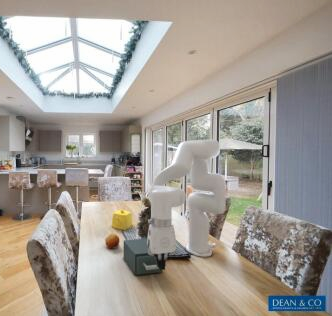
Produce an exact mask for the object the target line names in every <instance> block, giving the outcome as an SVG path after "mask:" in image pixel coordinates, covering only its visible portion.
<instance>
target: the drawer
mask: <svg viewBox="0 0 332 316" xmlns="http://www.w3.org/2000/svg"><path fill="white" fill-rule="evenodd" d="M156 272H158V273H162V272H163V270H160V269H159V268H158V267H157V264H156V257H155V256H154V255H153V256H152V255H145V256H137V266H136V273H137V275H136V276H139V275H138V274H141V275H148V274H147V273H150V274H156Z"/></svg>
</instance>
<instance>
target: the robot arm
mask: <svg viewBox="0 0 332 316" xmlns="http://www.w3.org/2000/svg"><path fill="white" fill-rule="evenodd" d="M220 153H221V144H220V142H219V141H218V140H217V139H192V140H191V139H190V140H185V141H181V142H180V143H179V144H178V146H177V147H176V150H175V153H174V155H173V158H172V161H171V163H170V165H168V166H166V167H165V168H164V169H162V170H161V171H160V172H158V173H157V175H156V176H155V177H154V179H153V180H152V182H151V185H150V188H149V193H148V195H149V199H150V219H147V222H148V224H149V226H148V230H147V238H146V239H147V247H148V254H149V255H152V256H153V255H154V256H155V257H156V264H157V267H158V268H159V269H160V270H162V271H165V270H166V265H167V264H166V262H167V261H166V260H167V259H168V257H169V256H170V254H173V253H175V252H176V250H177V238H176V237H177V236H176V230H175V227H174V224H172V212H173V211H172V210H173V208H175V207H176V208H177V207H180V206H182V205H184V204H185V202H186V199H187V206H188V244H187V245H185V250H186V252H188V253H189V254H191V255H193V256H196V257H201V258H203V257H204V258H207V257H211V256H212V255H213V251H212V249H216V248H217V247H218V246H217V243H211V242H210V218H209V216H208V215H207V213H210V214H216V215H221V214H224V213H225V211H226V205H227V204H226V203H227V201H226V200H227V199H226V197H227V194H226V193H227V192H226V191H227V190H226V188H227V187H226V178H225V176H224V175H222V174H221V173H215V172H209V162H208V160H210V159H214V158H216V157H218V156H219V154H220ZM189 174H190V175H189ZM188 175H189V177H190V186H191V188H192V189H193V190H196V191H194V192H190V193H189V194H188V196H187V194H186V192H185V190H184V189H182V188H180V187H176V186H167V185H165V184H167V183H168V182H170V181H173V180H176V179H179V178H182V177H186V176H188ZM198 191H201V192H198ZM207 192H208V193H207ZM209 192H211V193H209Z"/></svg>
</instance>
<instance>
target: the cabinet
mask: <svg viewBox="0 0 332 316" xmlns="http://www.w3.org/2000/svg"><path fill="white" fill-rule="evenodd" d="M141 255H149V254H148V247H147V238H135V239H134V238H133V239H125V240H124V239H123V261H125V263H126V264H127V266H128V268H130V271H131V272H132V273H133V275H134V276H139V275H140V276H141V275H142V274H138V275H137V273H136V266H137V256H141ZM156 273H157V274H158V273H159V272H156ZM156 273H155V274H156ZM148 274H151V273H147V274H146V275H148Z"/></svg>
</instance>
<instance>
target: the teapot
mask: <svg viewBox="0 0 332 316" xmlns="http://www.w3.org/2000/svg"><path fill="white" fill-rule="evenodd" d="M132 215H133V214H132V212H131V211H129V210H125V209H118V210H116V211H115V212H113V214H112V218H111V227H112V228H114V229H117V230H124V231H126V230H129V228H131V227H132V225H133V216H132Z"/></svg>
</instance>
